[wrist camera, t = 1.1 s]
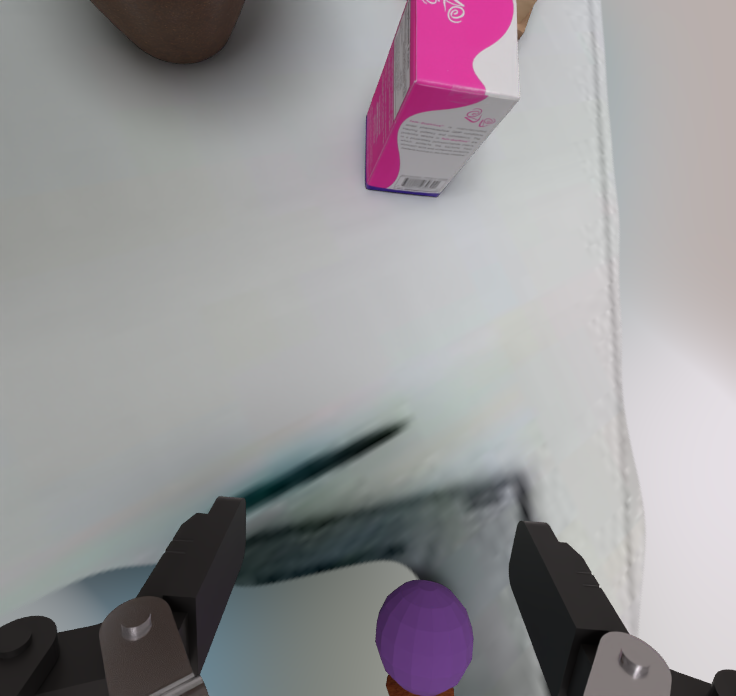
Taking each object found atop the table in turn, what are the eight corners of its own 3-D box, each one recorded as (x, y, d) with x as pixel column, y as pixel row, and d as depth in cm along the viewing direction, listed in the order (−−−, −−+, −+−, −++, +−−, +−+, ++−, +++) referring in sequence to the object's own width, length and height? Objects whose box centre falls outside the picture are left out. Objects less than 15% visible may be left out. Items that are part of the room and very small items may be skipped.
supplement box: (437, 124, 34) (522, -4, 23) (437, 198, 33) (524, 105, 22) (364, 112, 33) (415, -29, 22) (363, 190, 32) (415, 86, 21)
